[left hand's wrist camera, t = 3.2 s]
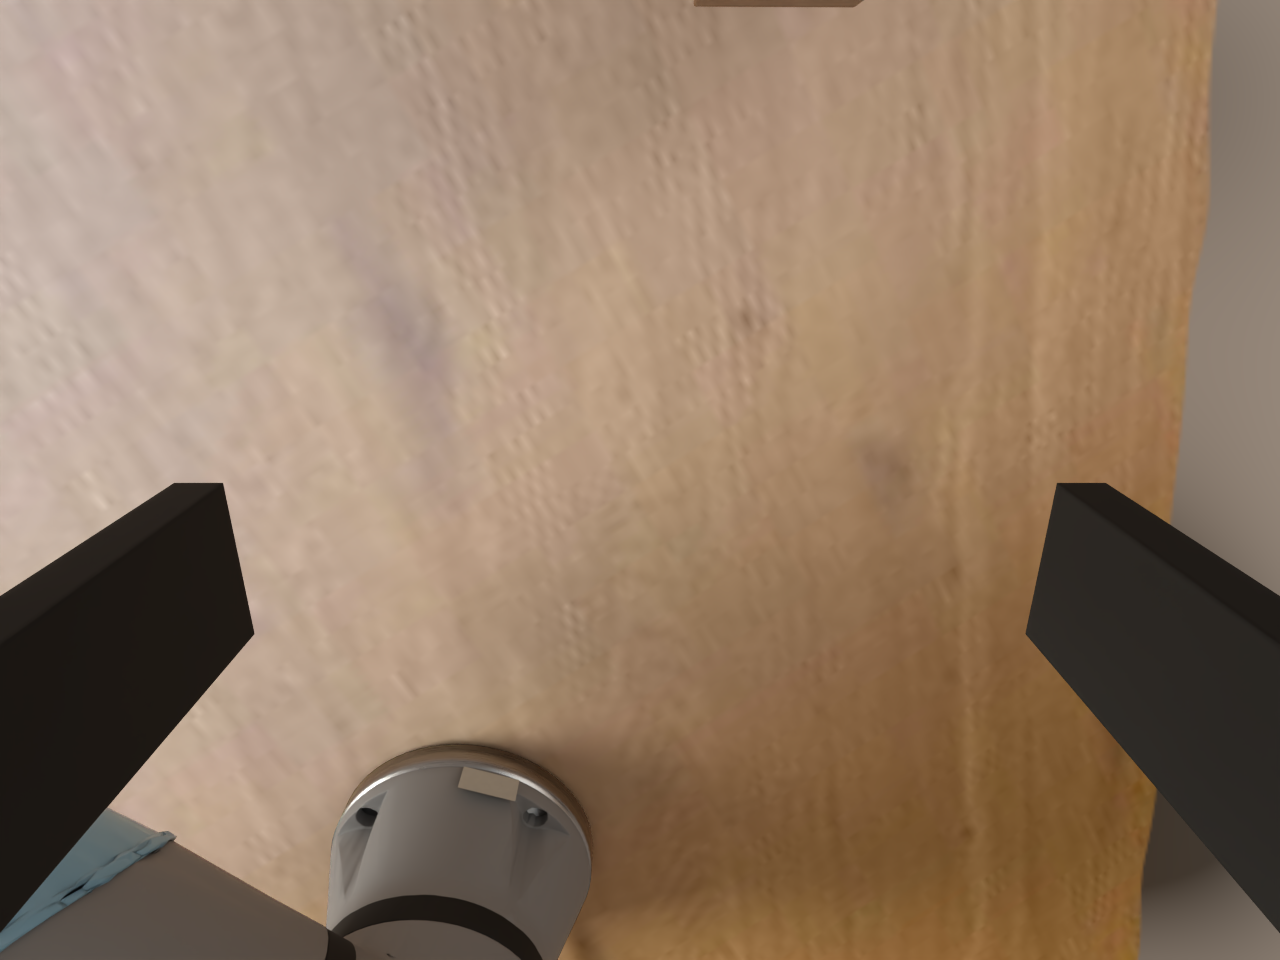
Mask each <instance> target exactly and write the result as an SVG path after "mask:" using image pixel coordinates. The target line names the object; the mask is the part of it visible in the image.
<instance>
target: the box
mask: <svg viewBox="0 0 1280 960" xmlns="http://www.w3.org/2000/svg"><path fill="white" fill-rule="evenodd" d="M862 1H863V0H694V6H701V7H855V6H856V5H858V4H859V3H861V2H862Z"/></svg>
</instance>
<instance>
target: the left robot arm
mask: <svg viewBox="0 0 1280 960" xmlns="http://www.w3.org/2000/svg"><path fill="white" fill-rule="evenodd" d="M253 635H254V629H253V624H252V620H251V615H250V610H249V605H248V601H247V596H246V591H245V586H244V581H243V577H242V572H241V567H240V562H239V558H238V553H237V548H236V543H235V538H234V534H233V529H232V524H231V519H230V515H229V510H228V505H227V500H226V495H225V491H224V486H223V483H174V484H172V485H170V486H169V487H167V488H166V489H164V490H163V491H161V492H160V493H158V494H157V495H155V496H154V497H152V498H150V499H149V500H147V501H146V502H144V503H143V504H141V505H140V506H138V507H137V508H135V509H134V510H132V511H130V512H129V513H127V514H126V515H124V516H123V517H121V518H120V519H118V520H117V521H115V522H114V523H112V524H110V525H109V526H107V527H106V528H104V529H103V530H101V531H100V532H98V533H97V534H95V535H94V536H92V537H90V538H89V539H87V540H86V541H84V542H83V543H81V544H80V545H78V546H77V547H75V548H74V549H72V550H70V551H69V552H67V553H66V554H64V555H63V556H61V557H60V558H58V559H57V560H55V561H54V562H52V563H50V564H49V565H47V566H46V567H44V568H43V569H41V570H40V571H38V572H37V573H35V574H34V575H32V576H30V577H29V578H27V579H26V580H24V581H23V582H21V583H20V584H18V585H17V586H15V587H14V588H12V589H10V590H9V591H7V592H6V593H4V594H3V595H1V596H0V960H557V959H558V957H559V955H560V953H561V951H562V949H563V946H564V944H565V942H566V940H567V938H568V936H569V934H570V931H571V929H572V927H573V925H574V923H575V921H576V918H577V916H578V914H579V912H580V910H581V908H582V905H583V903H584V901H585V899H586V896H587V893H588V890H589V886H590V880H591V868H592V853H593V843H592V834H591V830H590V826H589V823H588V820H587V818H586V815H585V813H584V811H583V809H582V808H581V806H580V804H579V803H578V801H577V800H576V798H575V797H574V796H573V795H572V793H571V792H570V791H569V790H568V789H567V788H566V787H565V786H564V785H563V784H562V783H561V782H560V781H559V780H558V779H556V778H555V777H554V776H553V775H551V774H550V773H548V772H547V771H546V770H544V769H543V768H541V767H539V766H538V765H536V764H534V763H532V762H530V761H528V760H526V759H524V758H522V757H519V756H516V755H514V754H511V753H508V752H505V751H501V750H498V749H493V748H488V747H483V746H475V745H460V744H454V745H439V746H431V747H426V748H421V749H417V750H414V751H411V752H407V753H405V754H402V755H400V756H397V757H395V758H393V759H391V760H389V761H387V762H386V763H384V764H383V765H381V766H379V767H378V768H376V769H375V770H374V771H373V772H371V773H370V774H369V775H368V776H367V777H366V778H365V779H364V780H363V781H362V782H361V783H360V784H359V786H358V787H357V788H356V789H355V791H354V792H353V794H352V796H351V798H350V799H349V801H348V803H347V806H346V808H345V810H344V812H343V814H342V816H341V818H340V820H339V823H338V825H337V827H336V830H335V833H334V836H333V840H332V847H331V860H330V876H329V892H328V907H327V923H326V927H324V926H323V925H321V924H319V923H318V922H316V921H314V920H312V919H310V918H308V917H306V916H305V915H303V914H301V913H299V912H297V911H295V910H294V909H292V908H290V907H288V906H286V905H284V904H282V903H281V902H279V901H277V900H275V899H273V898H272V897H270V896H268V895H266V894H265V893H263V892H261V891H259V890H258V889H256V888H254V887H252V886H251V885H249V884H247V883H245V882H244V881H242V880H240V879H238V878H237V877H235V876H233V875H231V874H230V873H228V872H226V871H224V870H223V869H221V868H219V867H217V866H216V865H214V864H212V863H211V862H209V861H207V860H205V859H204V858H202V857H200V856H198V855H197V854H195V853H193V852H191V851H190V850H188V849H186V848H184V847H183V846H181V845H179V844H177V843H176V842H174V840H175V839H176V837H177V836H175V835H174V834H172V833H171V832H169V831H164V832H157V831H154V830H152V829H150V828H148V827H146V826H144V825H142V824H140V823H138V822H136V821H134V820H132V819H130V818H128V817H126V816H123V815H121V814H119V813H117V812H115V811H113V810H111V809H109V808H107V807H108V806H109V804H110V803H111V802H112V801H113V800H114V799H115V797H116V796H117V795H118V794H119V793H120V791H121V790H122V789H123V788H124V787H125V786H126V784H127V783H128V782H129V781H130V780H131V779H132V777H133V776H134V775H135V774H136V773H137V771H138V770H139V769H140V768H141V767H142V766H143V764H144V763H145V762H146V761H147V760H148V759H149V757H150V756H151V755H152V754H153V753H154V751H155V750H156V749H157V748H158V747H159V746H160V744H161V743H162V742H163V741H164V740H165V739H166V737H167V736H168V735H169V734H170V733H171V731H172V730H173V729H174V728H175V727H176V726H177V724H178V723H179V722H180V721H181V720H182V719H183V717H184V716H185V715H186V714H187V713H188V711H189V710H190V709H191V708H192V707H193V706H194V704H195V703H196V702H197V701H198V700H199V699H200V697H201V696H202V695H203V694H204V693H205V691H206V690H207V689H208V688H209V687H210V686H211V684H212V683H213V682H214V681H215V680H216V679H217V677H218V676H219V675H220V674H221V673H222V671H223V670H224V669H225V668H226V667H227V666H228V664H229V663H230V662H231V661H232V660H233V659H234V657H235V656H236V655H237V654H238V653H239V651H240V650H241V649H242V648H243V647H244V646H245V644H246V643H247V642H248V641H249V640H250V639H251V637H252V636H253ZM1026 635H1027V636H1028V637H1029V639H1030V640H1031V641H1032V642H1033V643H1034V644H1035V646H1036V647H1037V648H1038V649H1039V650H1040V651H1041V653H1042V654H1043V655H1044V656H1045V657H1046V659H1047V660H1048V661H1049V662H1050V663H1051V664H1052V666H1053V667H1054V668H1055V669H1056V670H1057V671H1058V673H1059V674H1060V675H1061V676H1062V677H1063V679H1064V680H1065V681H1066V682H1067V683H1068V684H1069V686H1070V687H1071V688H1072V689H1073V690H1074V691H1075V693H1076V694H1077V695H1078V696H1079V697H1080V699H1081V700H1082V701H1083V702H1084V703H1085V704H1086V706H1087V707H1088V708H1089V709H1090V710H1091V711H1092V713H1093V714H1094V715H1095V716H1096V717H1097V719H1098V720H1099V721H1100V722H1101V723H1102V724H1103V726H1104V727H1105V728H1106V729H1107V730H1108V731H1109V733H1110V734H1111V735H1112V736H1113V737H1114V739H1115V740H1116V741H1117V742H1118V743H1119V744H1120V746H1121V747H1122V748H1123V749H1124V750H1125V751H1126V753H1127V754H1128V755H1129V756H1130V757H1131V759H1132V760H1133V761H1134V762H1135V763H1136V764H1137V766H1138V767H1139V768H1140V769H1141V770H1142V771H1143V773H1144V774H1145V775H1146V776H1147V777H1148V779H1149V780H1150V781H1151V782H1152V783H1153V784H1154V786H1155V787H1156V788H1157V789H1158V790H1159V791H1160V793H1161V794H1162V795H1163V796H1164V797H1165V799H1166V800H1167V801H1168V802H1169V803H1170V804H1171V806H1172V807H1173V808H1174V809H1175V810H1176V811H1177V813H1178V814H1179V815H1180V816H1181V817H1182V818H1183V820H1184V821H1185V822H1186V823H1187V824H1188V826H1189V827H1190V828H1191V829H1192V830H1193V831H1194V833H1195V834H1196V835H1197V836H1198V837H1199V839H1200V840H1201V841H1202V842H1203V843H1204V844H1205V846H1206V847H1207V848H1208V849H1209V850H1210V851H1211V853H1212V854H1213V855H1214V856H1215V857H1216V859H1217V860H1218V861H1219V862H1220V863H1221V864H1222V866H1223V867H1224V868H1225V869H1226V870H1227V871H1228V873H1229V874H1230V875H1231V876H1232V877H1233V879H1234V880H1235V881H1236V882H1237V883H1238V884H1239V886H1240V887H1241V888H1242V889H1243V890H1244V891H1245V893H1246V894H1247V895H1248V896H1249V897H1250V898H1251V900H1252V901H1253V902H1254V903H1255V904H1256V906H1257V907H1258V908H1259V909H1260V910H1261V911H1262V913H1263V914H1264V915H1265V916H1266V917H1267V919H1268V920H1269V921H1270V922H1271V923H1272V924H1273V926H1274V927H1275V928H1276V929H1277V930H1278V931H1279V933H1280V596H1279V595H1277V594H1276V593H1274V592H1273V591H1271V590H1269V589H1268V588H1266V587H1265V586H1263V585H1262V584H1260V583H1259V582H1257V581H1256V580H1254V579H1253V578H1251V577H1250V576H1248V575H1246V574H1245V573H1243V572H1242V571H1240V570H1239V569H1237V568H1236V567H1234V566H1233V565H1231V564H1229V563H1228V562H1226V561H1225V560H1223V559H1222V558H1220V557H1219V556H1217V555H1216V554H1214V553H1213V552H1211V551H1210V550H1208V549H1206V548H1205V547H1203V546H1202V545H1200V544H1199V543H1197V542H1196V541H1194V540H1193V539H1191V538H1189V537H1188V536H1186V535H1185V534H1183V533H1182V532H1180V531H1179V530H1177V529H1176V528H1174V527H1173V526H1171V525H1170V524H1168V523H1166V522H1165V521H1163V520H1162V519H1160V518H1159V517H1157V516H1156V515H1154V514H1153V513H1151V512H1150V511H1148V510H1146V509H1145V508H1143V507H1142V506H1140V505H1139V504H1137V503H1136V502H1134V501H1133V500H1131V499H1130V498H1128V497H1126V496H1125V495H1123V494H1122V493H1120V492H1119V491H1117V490H1116V489H1114V488H1113V487H1111V486H1110V485H1108V484H1106V483H1057V486H1056V491H1055V495H1054V500H1053V505H1052V510H1051V515H1050V519H1049V524H1048V529H1047V534H1046V538H1045V543H1044V548H1043V553H1042V558H1041V562H1040V567H1039V572H1038V577H1037V581H1036V586H1035V591H1034V596H1033V601H1032V605H1031V610H1030V615H1029V620H1028V624H1027V629H1026Z"/></svg>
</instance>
